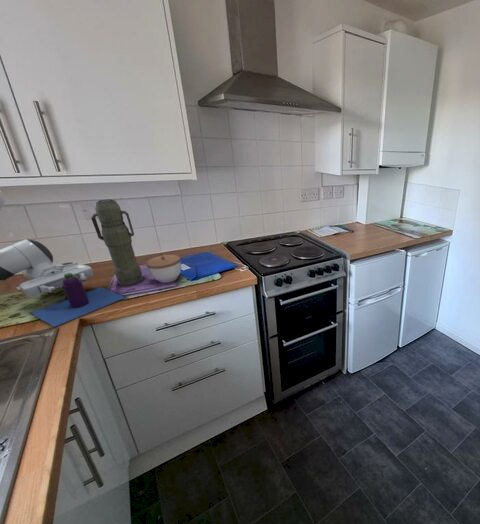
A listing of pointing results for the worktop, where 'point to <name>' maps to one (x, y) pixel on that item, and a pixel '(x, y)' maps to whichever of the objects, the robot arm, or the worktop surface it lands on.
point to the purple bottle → (74, 291)
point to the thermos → (118, 241)
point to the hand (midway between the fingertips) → (68, 284)
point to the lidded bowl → (164, 268)
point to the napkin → (66, 313)
